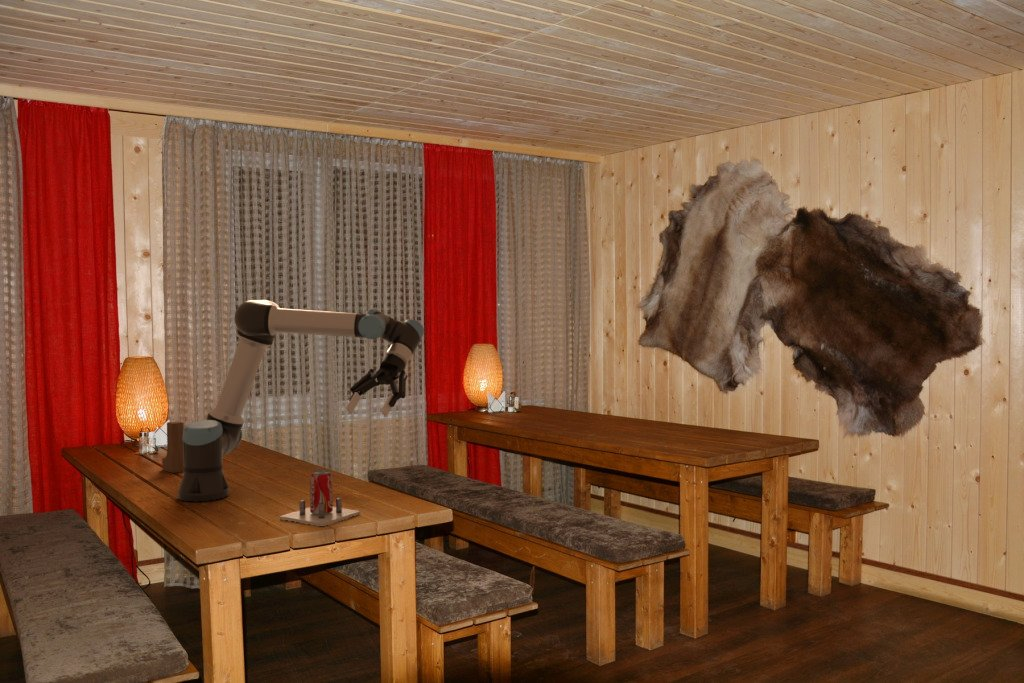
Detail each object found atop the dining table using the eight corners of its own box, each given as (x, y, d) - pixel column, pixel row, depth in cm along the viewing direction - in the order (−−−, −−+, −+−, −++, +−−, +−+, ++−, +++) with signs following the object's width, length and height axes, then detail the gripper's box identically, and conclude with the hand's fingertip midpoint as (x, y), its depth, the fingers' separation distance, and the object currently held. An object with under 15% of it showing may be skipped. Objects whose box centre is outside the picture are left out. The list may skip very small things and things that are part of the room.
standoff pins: (298, 514, 243) (298, 501, 243) (319, 508, 251) (319, 494, 251) (321, 518, 239) (321, 504, 239) (342, 512, 246) (342, 498, 246)
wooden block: (161, 470, 312) (160, 421, 312) (174, 468, 316) (173, 419, 315) (172, 473, 306) (171, 423, 305) (184, 471, 309) (184, 422, 308)
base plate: (279, 519, 242) (279, 516, 242) (318, 507, 256) (318, 504, 256) (322, 527, 234) (322, 523, 234) (360, 514, 248) (360, 510, 248)
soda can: (326, 509, 249) (325, 468, 249) (336, 513, 244) (336, 472, 244) (306, 513, 245) (305, 471, 245) (316, 517, 240) (316, 475, 240)
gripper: (432, 369, 270) (404, 423, 258) (370, 366, 282) (340, 417, 270) (422, 353, 265) (393, 407, 253) (359, 351, 277) (328, 402, 265)
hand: (365, 412), depth 261 cm, fingers open, 13 cm apart
